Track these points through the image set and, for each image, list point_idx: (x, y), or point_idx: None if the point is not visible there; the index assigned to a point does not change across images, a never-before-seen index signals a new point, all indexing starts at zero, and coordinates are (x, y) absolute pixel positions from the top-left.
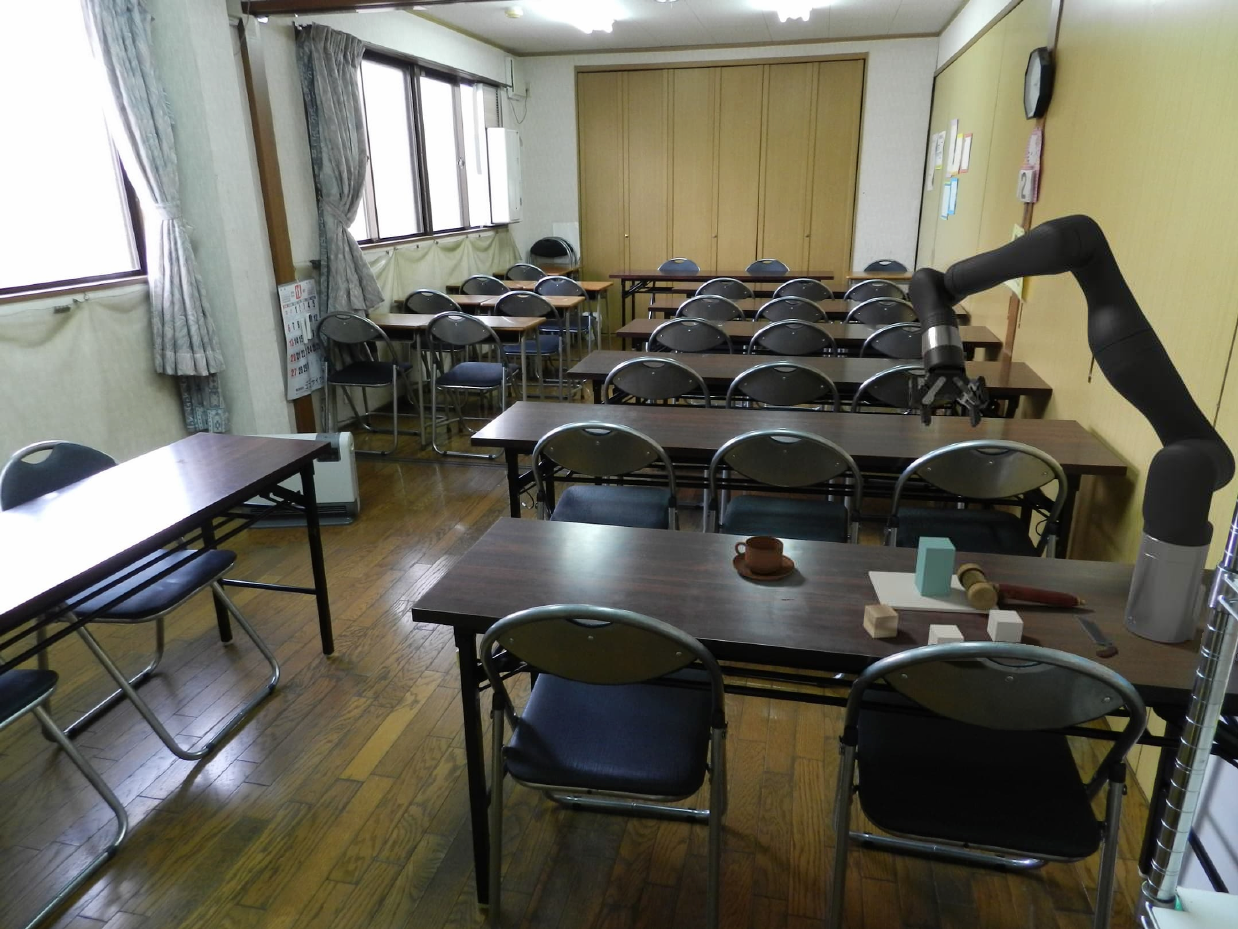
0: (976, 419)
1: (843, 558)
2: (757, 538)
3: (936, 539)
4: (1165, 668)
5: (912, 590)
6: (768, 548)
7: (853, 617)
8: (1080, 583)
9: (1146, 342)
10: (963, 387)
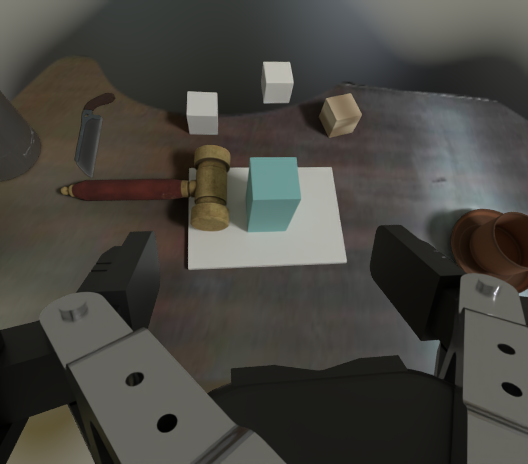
0: (139, 234)
1: (383, 316)
2: None
3: (274, 191)
4: (53, 80)
5: None
6: (506, 271)
7: (362, 148)
8: (21, 276)
9: None
10: (159, 412)
